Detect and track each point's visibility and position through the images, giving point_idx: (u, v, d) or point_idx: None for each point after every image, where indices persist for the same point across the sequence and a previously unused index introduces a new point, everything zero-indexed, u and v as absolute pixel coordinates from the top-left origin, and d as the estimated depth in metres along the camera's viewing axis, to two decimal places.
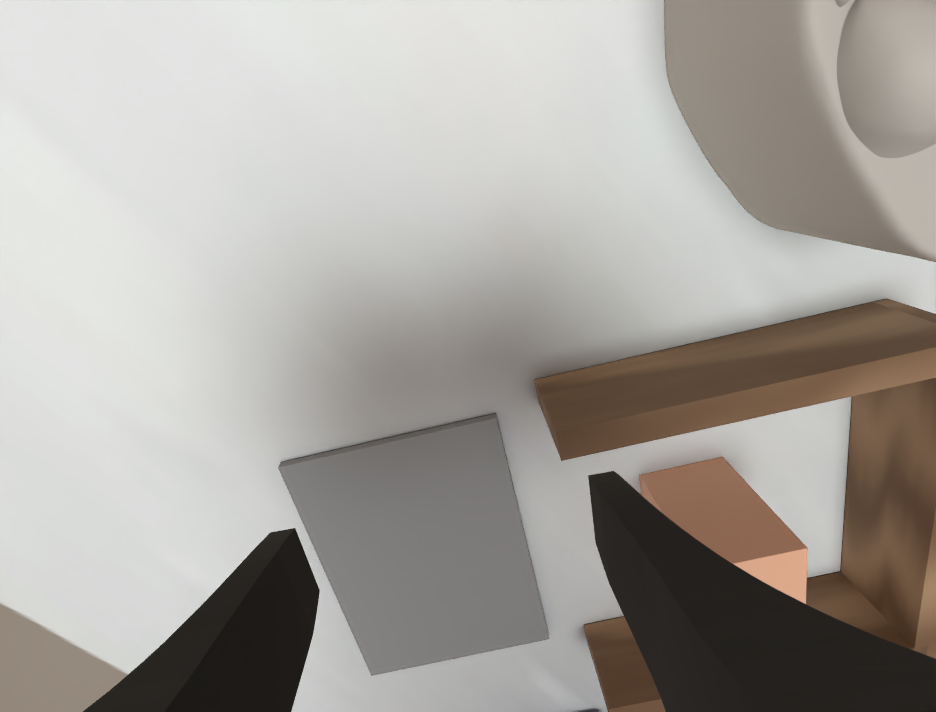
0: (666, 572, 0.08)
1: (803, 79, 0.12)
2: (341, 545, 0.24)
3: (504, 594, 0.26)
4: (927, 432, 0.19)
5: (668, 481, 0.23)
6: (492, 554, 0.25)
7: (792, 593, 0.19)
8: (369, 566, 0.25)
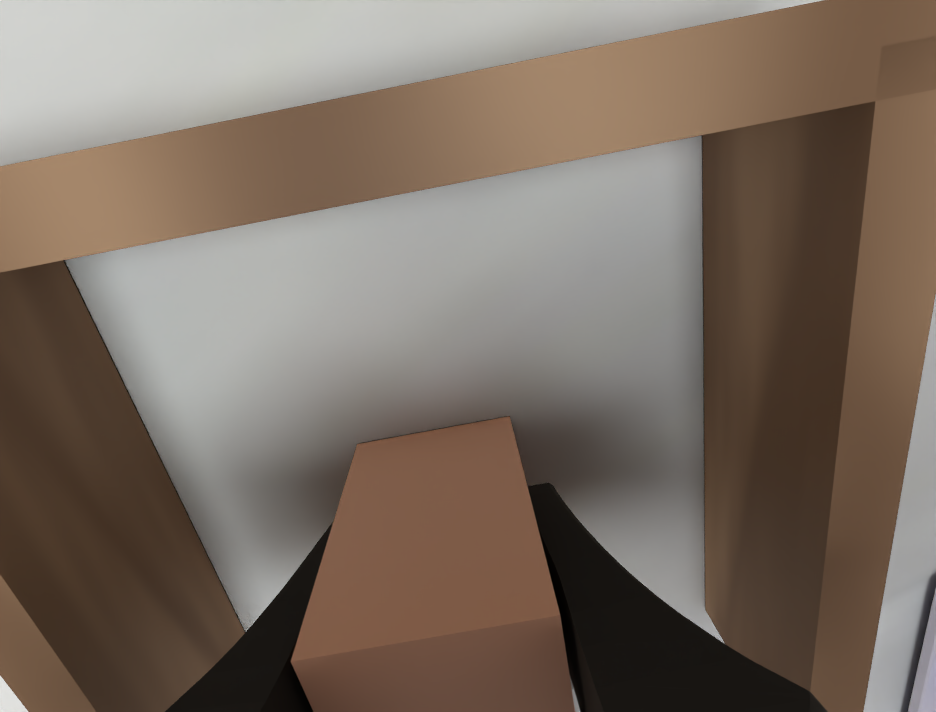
0: (571, 589, 0.08)
1: None
2: None
3: None
4: None
5: None
6: None
7: (438, 663, 0.07)
8: None
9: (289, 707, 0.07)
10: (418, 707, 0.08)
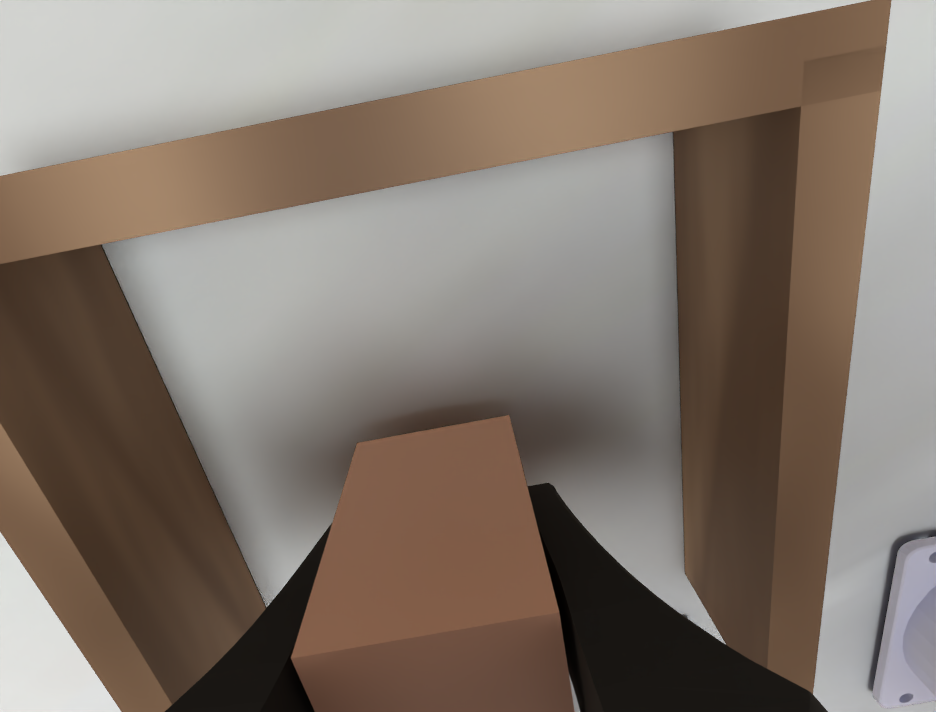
0: (571, 589, 0.08)
1: None
2: None
3: None
4: None
5: None
6: None
7: (438, 660, 0.07)
8: None
9: (289, 707, 0.07)
10: (418, 705, 0.08)
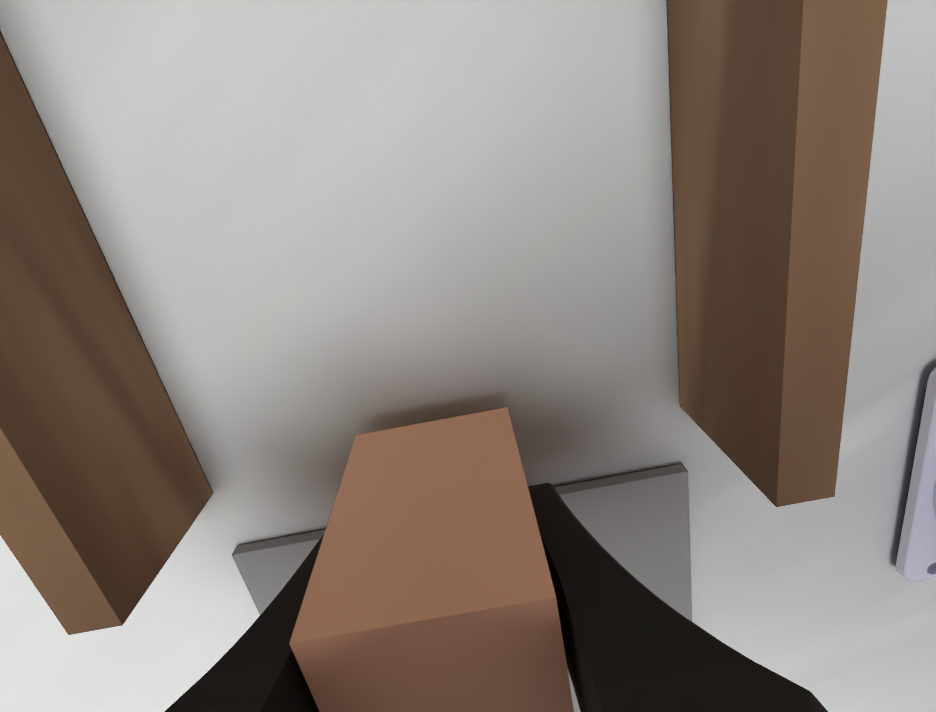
0: (571, 588, 0.08)
1: None
2: None
3: None
4: None
5: None
6: None
7: (436, 645, 0.08)
8: None
9: (289, 707, 0.07)
10: (416, 689, 0.08)
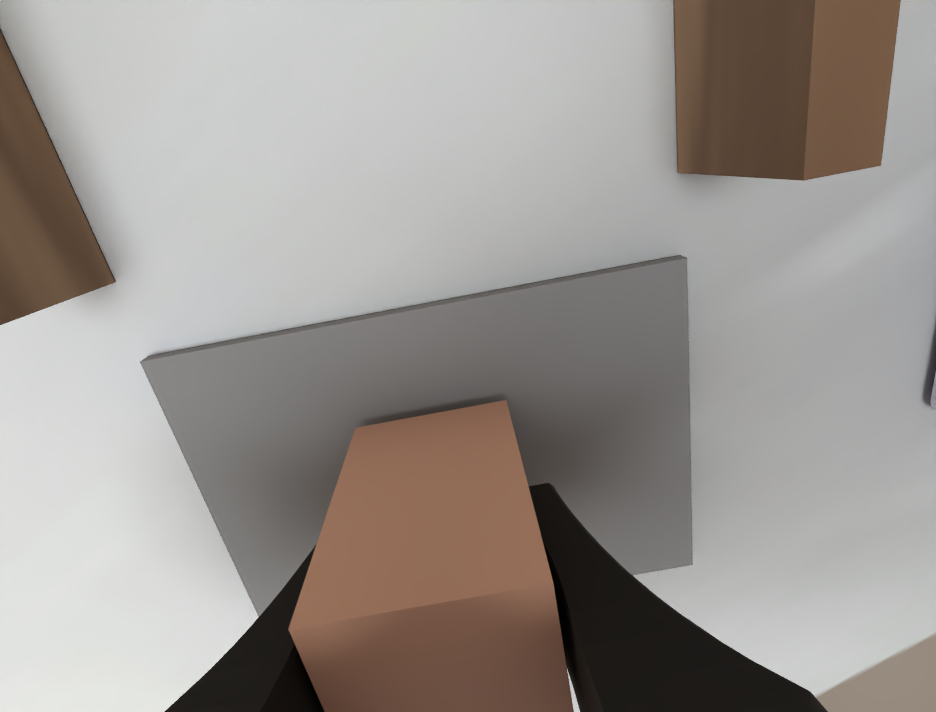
0: (571, 589, 0.08)
1: None
2: None
3: (543, 350, 0.13)
4: None
5: None
6: (441, 371, 0.13)
7: (434, 631, 0.08)
8: None
9: (289, 707, 0.07)
10: (413, 677, 0.08)
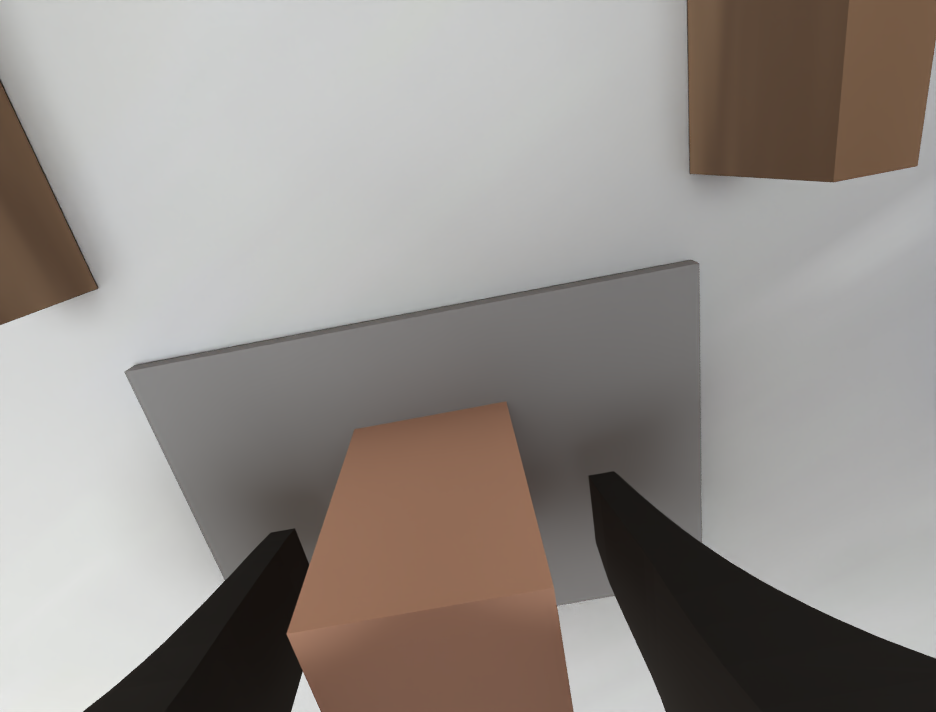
0: (666, 572, 0.08)
1: None
2: None
3: (548, 359, 0.12)
4: None
5: None
6: (440, 382, 0.13)
7: (433, 635, 0.07)
8: None
9: None
10: (413, 681, 0.08)
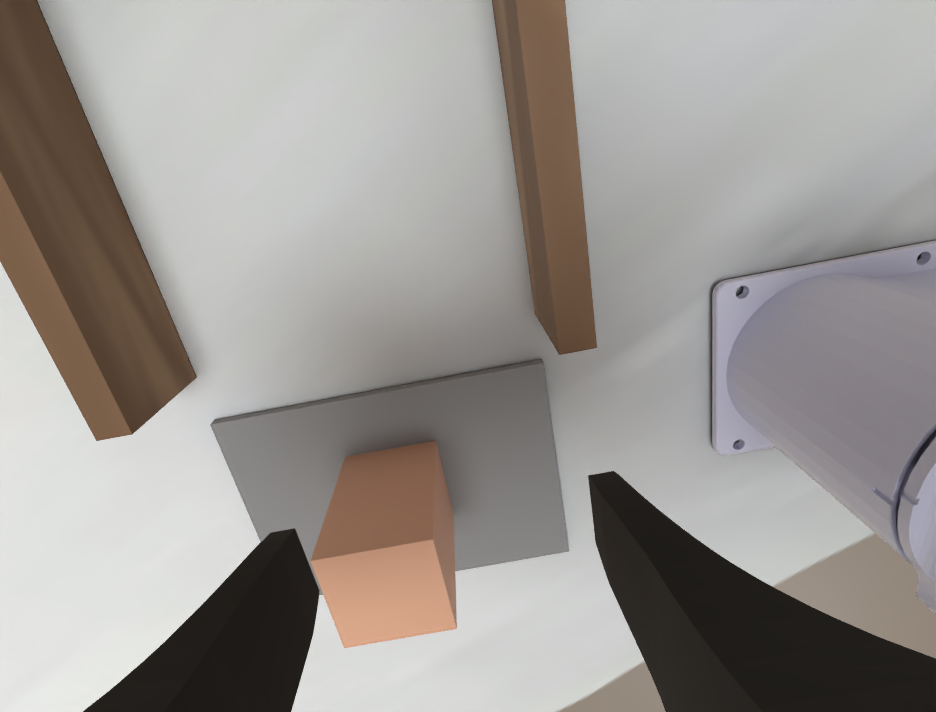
0: (666, 572, 0.08)
1: None
2: None
3: (459, 416, 0.21)
4: None
5: None
6: (396, 429, 0.21)
7: (378, 562, 0.16)
8: None
9: None
10: (370, 585, 0.16)
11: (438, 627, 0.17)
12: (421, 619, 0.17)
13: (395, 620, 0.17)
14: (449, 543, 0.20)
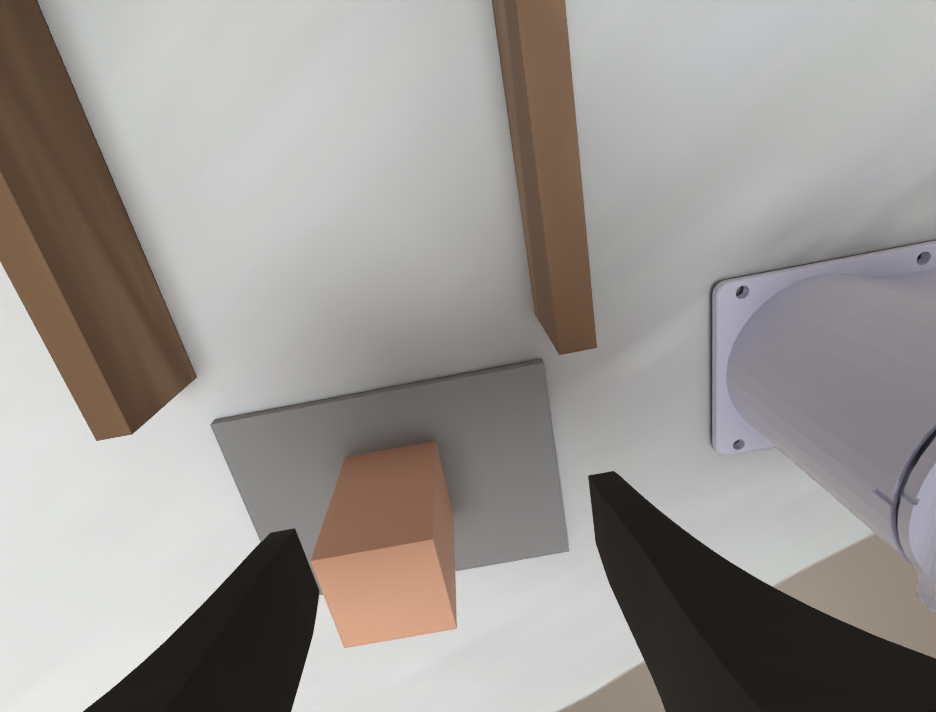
0: (666, 572, 0.08)
1: None
2: None
3: (459, 416, 0.21)
4: None
5: None
6: (396, 429, 0.21)
7: (378, 562, 0.16)
8: None
9: None
10: (370, 585, 0.16)
11: (438, 627, 0.17)
12: (421, 619, 0.17)
13: (395, 620, 0.17)
14: (449, 543, 0.20)
